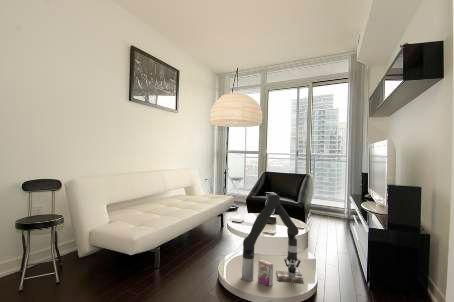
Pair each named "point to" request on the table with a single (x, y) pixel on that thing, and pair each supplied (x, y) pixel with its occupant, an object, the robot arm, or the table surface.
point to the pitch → (285, 277)
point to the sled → (291, 271)
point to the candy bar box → (265, 273)
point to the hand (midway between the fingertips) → (291, 271)
